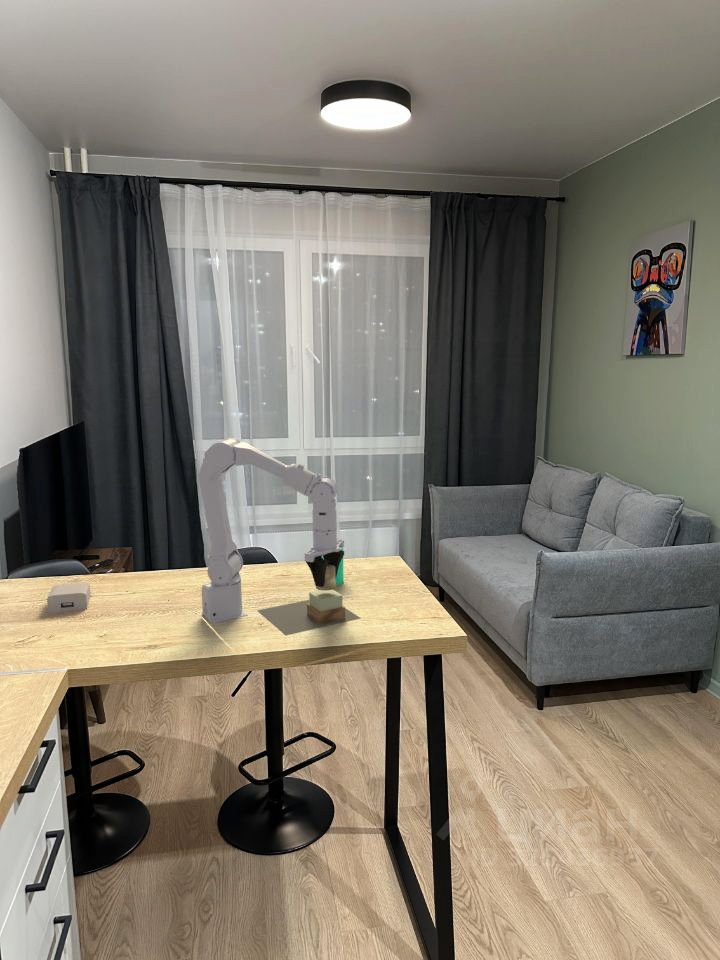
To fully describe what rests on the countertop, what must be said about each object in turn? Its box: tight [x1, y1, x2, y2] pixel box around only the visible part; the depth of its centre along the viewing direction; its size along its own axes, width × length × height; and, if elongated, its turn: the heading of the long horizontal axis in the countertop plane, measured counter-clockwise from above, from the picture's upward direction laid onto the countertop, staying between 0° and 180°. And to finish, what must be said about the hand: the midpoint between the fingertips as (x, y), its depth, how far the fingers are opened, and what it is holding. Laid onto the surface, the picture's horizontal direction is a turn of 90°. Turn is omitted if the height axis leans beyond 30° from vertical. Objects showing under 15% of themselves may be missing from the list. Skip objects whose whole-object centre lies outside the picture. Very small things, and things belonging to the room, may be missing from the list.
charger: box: [46, 581, 91, 614], centre depth 177 cm, size 5×9×15 cm
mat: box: [256, 599, 361, 636], centre depth 165 cm, size 20×18×1 cm
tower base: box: [307, 603, 346, 625], centre depth 163 cm, size 7×7×3 cm
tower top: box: [308, 589, 344, 612], centre depth 163 cm, size 6×6×3 cm
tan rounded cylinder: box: [315, 565, 336, 591], centre depth 162 cm, size 5×5×5 cm
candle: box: [322, 547, 345, 585], centre depth 189 cm, size 6×6×12 cm
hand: (325, 582), depth 162 cm, fingers closed on tan rounded cylinder, 5 cm apart
